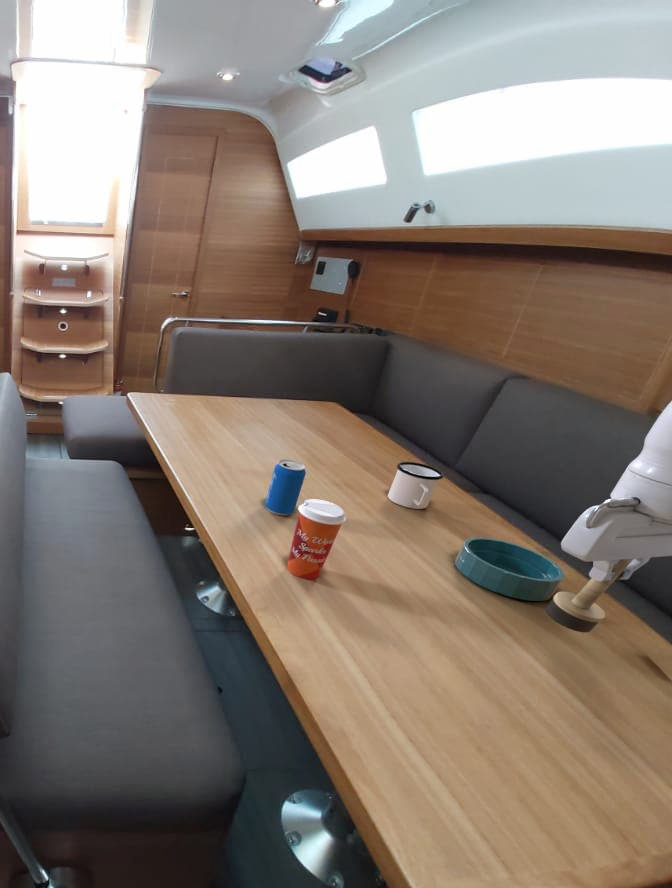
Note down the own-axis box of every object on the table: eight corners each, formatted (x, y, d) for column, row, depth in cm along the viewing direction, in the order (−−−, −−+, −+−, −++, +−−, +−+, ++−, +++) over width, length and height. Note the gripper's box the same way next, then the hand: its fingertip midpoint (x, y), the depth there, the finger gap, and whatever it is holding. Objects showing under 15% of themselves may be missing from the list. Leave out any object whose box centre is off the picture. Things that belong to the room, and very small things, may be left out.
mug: (380, 490, 131) (392, 459, 127) (421, 496, 128) (435, 464, 124) (394, 511, 120) (408, 477, 116) (439, 518, 118) (455, 484, 114)
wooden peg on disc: (580, 611, 81) (640, 544, 74) (600, 637, 77) (667, 568, 69) (537, 601, 83) (592, 534, 75) (554, 626, 78) (615, 557, 71)
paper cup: (280, 575, 95) (300, 511, 89) (281, 555, 101) (300, 494, 95) (326, 587, 92) (350, 522, 86) (324, 566, 98) (346, 503, 92)
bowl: (528, 568, 100) (540, 547, 98) (567, 612, 88) (582, 589, 86) (443, 551, 105) (453, 531, 102) (469, 591, 92) (481, 569, 90)
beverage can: (260, 502, 122) (272, 457, 117) (288, 505, 121) (301, 460, 116) (268, 515, 116) (281, 468, 111) (297, 518, 115) (311, 471, 110)
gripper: (629, 511, 64) (574, 596, 70) (749, 505, 68) (687, 586, 74) (575, 489, 70) (528, 569, 76) (688, 484, 73) (634, 562, 79)
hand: (607, 578), depth 75 cm, fingers closed on wooden peg on disc
